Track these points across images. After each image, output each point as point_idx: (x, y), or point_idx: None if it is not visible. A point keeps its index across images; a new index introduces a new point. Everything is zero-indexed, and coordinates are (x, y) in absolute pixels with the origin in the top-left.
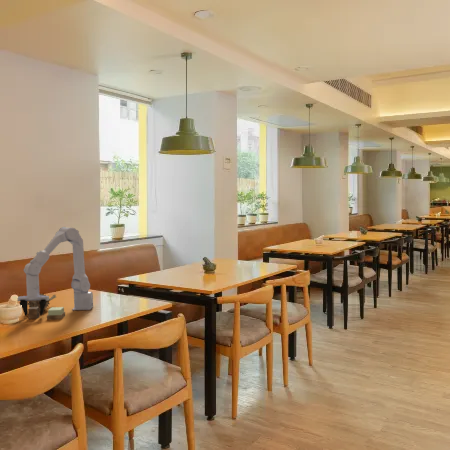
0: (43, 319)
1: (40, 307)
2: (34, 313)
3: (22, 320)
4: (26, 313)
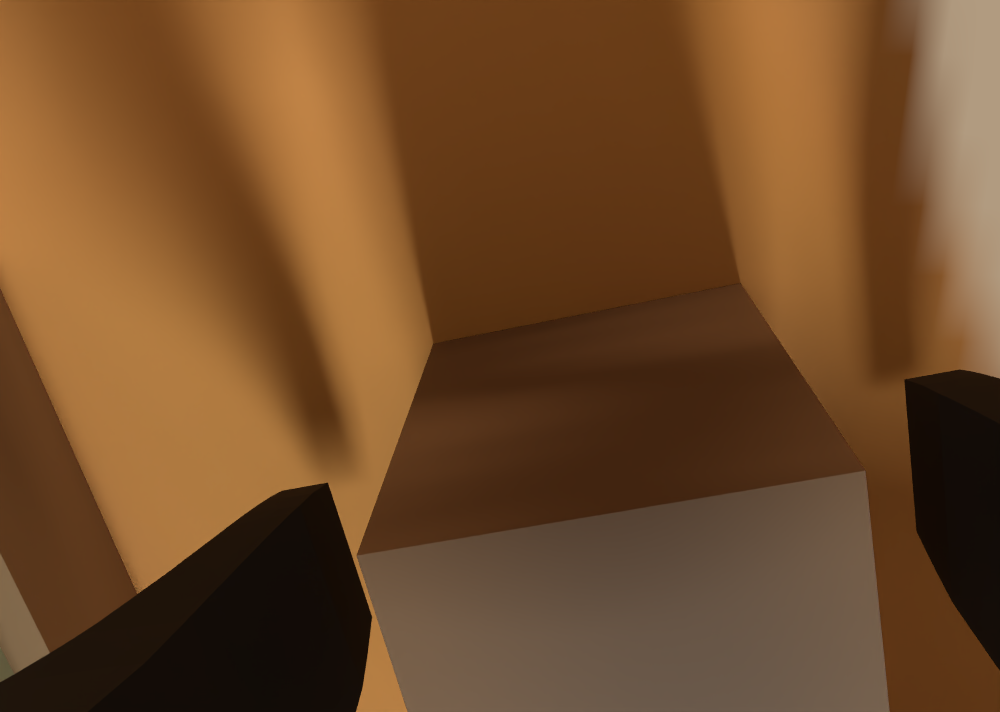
0: (139, 285)
1: (130, 658)
2: (504, 415)
3: (899, 54)
4: (940, 456)
